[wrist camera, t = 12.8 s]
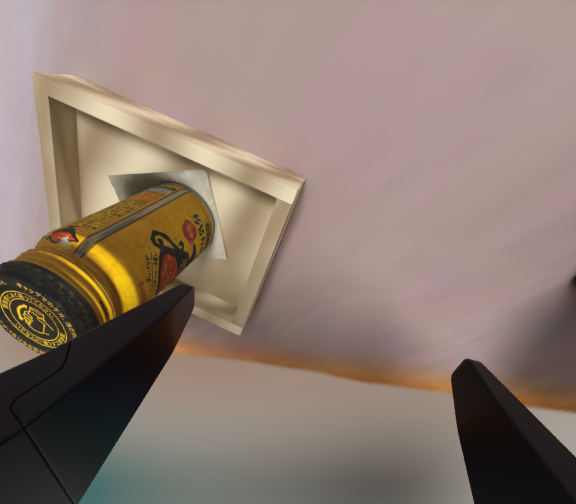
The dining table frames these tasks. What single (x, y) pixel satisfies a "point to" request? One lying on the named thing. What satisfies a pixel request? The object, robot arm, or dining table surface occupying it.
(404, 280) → the dining table surface
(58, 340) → the condiment
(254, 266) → the tray
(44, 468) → the robot arm
